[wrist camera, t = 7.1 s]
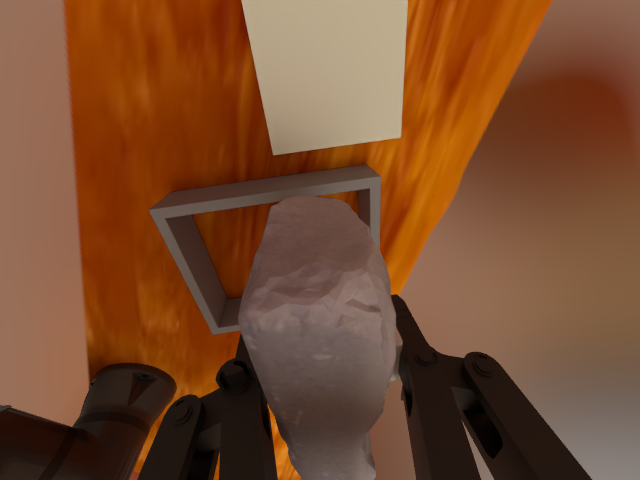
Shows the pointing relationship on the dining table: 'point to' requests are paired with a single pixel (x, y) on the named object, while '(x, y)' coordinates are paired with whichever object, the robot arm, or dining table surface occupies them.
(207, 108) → the dining table surface
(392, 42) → the board
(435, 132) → the dining table surface
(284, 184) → the access frame
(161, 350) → the dining table surface
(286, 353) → the stone block
